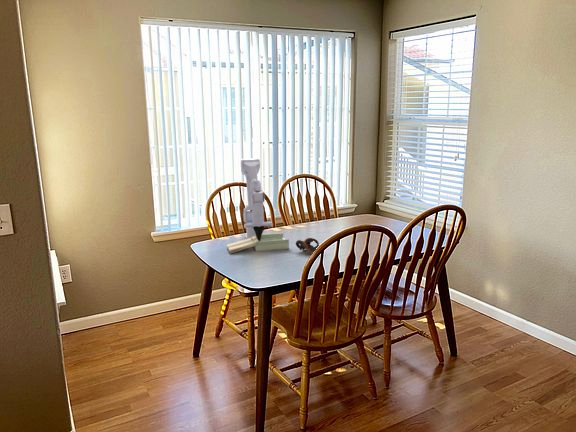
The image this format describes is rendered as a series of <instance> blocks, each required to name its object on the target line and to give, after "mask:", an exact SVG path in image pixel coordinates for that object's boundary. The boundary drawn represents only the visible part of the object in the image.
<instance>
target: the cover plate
mask: <svg viewBox="0 0 576 432" xmlns="http://www.w3.org/2000/svg"><path fill="white" fill-rule="evenodd" d="M256 242H258V239H257V238H256V236H252V237H249V238H246V237H245V238H243V239H240V240H237V241H234V242H230V243H228V244H226V246H227V249H228V251H229V253H230V254H234V253H237V252H240V251H242V250H246V249H249V248H252V247H253V246H255V245H256Z"/></svg>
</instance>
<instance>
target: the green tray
mask: <svg viewBox="0 0 576 432" xmlns="http://www.w3.org/2000/svg"><path fill="white" fill-rule="evenodd" d="M252 236H256V235H252ZM256 238H257V236H256ZM252 247H253V249H254V251H255V252H256V253H260V252H270V251H273V252H274V251H281V250H283V251H284V250H289V249H290V239H289V238H285V237H284V232H279V233H262V235H261V241H258V242H256V245H255V246H252Z"/></svg>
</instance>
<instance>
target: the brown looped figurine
mask: <svg viewBox="0 0 576 432" xmlns="http://www.w3.org/2000/svg"><path fill="white" fill-rule="evenodd" d="M313 242H314V243H315V244H316V246H314V245H312V244H311V243H313ZM319 244H320V243H319V241H318V240H317V239H316V238H313V237H307V238H306V239H304V240H300V239H298V240H296V242H295V245H296V248H298V249H299V250H300V251H304V250H306V252H305V253H306V255H307V256H309V255H310V254H313V253H315V252H314V251H315V250H316V248H317V247H318V246H319V247H320V245H319Z"/></svg>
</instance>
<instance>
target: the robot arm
mask: <svg viewBox="0 0 576 432" xmlns="http://www.w3.org/2000/svg"><path fill="white" fill-rule="evenodd" d="M240 168H241V174H242V175H243V176H244V177H245V182H246V195H247V205H246V206H245V207H244V208H243V213H242V214H243V215H242V216H243V222H244V224H243V228H244V229H246V234H245V235H244V237H245V239H246V238H249V237H252V235H256V236H257V239H258V241H261V235H262V234H264V230H265V227H273V225H274V224H273V222H272V221H265V220H264V219H265V217H264V215H265V214H264V212H265V211H264V203H265V199H266V198H265V197H266V196H265V192H264V190H263V188H262V184H261V183H262V182H261V181H260V180H258V174H259V171H260V169H261V161H260V158H259V157H257V158H241V159H240Z"/></svg>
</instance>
